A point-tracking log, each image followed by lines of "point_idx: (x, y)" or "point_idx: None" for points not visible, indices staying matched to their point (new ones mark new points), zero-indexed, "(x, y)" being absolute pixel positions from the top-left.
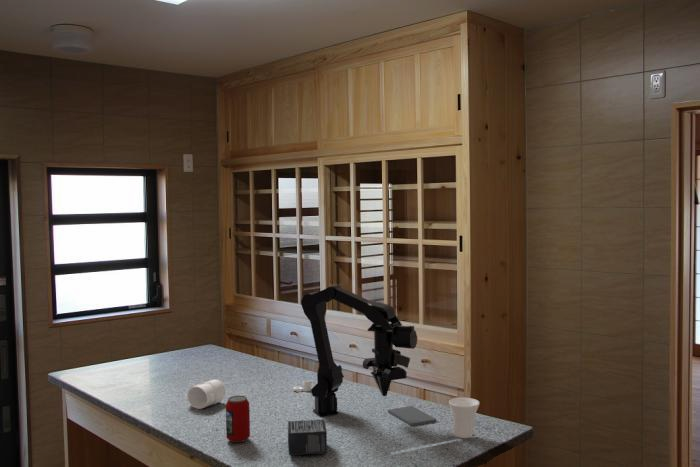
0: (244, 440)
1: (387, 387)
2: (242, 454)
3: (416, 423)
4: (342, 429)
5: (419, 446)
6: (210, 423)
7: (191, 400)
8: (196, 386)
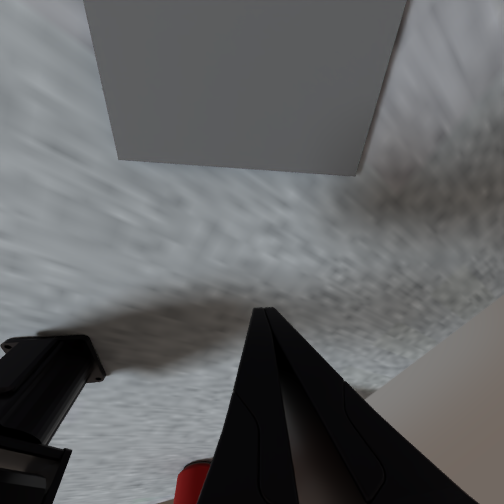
0: (209, 463)
1: (326, 378)
2: None
3: (361, 146)
4: (240, 356)
5: (469, 253)
6: (97, 492)
7: None
8: None
